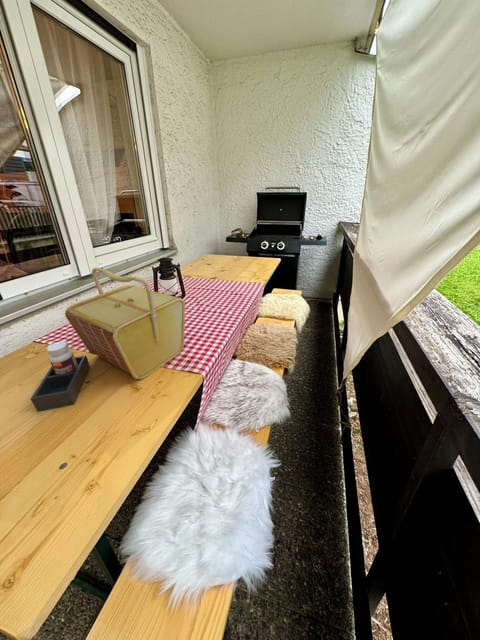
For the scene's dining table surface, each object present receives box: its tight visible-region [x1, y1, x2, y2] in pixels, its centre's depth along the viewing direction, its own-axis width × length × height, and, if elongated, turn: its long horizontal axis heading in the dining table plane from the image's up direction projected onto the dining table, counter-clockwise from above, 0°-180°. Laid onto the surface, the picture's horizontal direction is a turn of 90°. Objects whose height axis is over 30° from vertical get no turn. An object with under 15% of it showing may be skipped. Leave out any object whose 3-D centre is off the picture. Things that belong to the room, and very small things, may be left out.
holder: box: [29, 354, 91, 412], centre depth 77 cm, size 9×17×5 cm, turn 14°
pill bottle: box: [46, 340, 78, 375], centre depth 78 cm, size 6×6×11 cm
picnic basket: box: [64, 267, 186, 380], centre depth 84 cm, size 29×26×30 cm
